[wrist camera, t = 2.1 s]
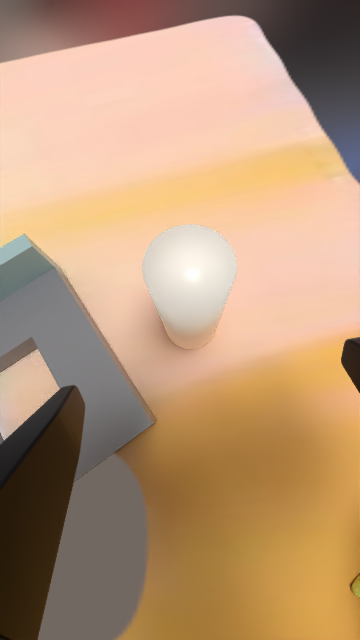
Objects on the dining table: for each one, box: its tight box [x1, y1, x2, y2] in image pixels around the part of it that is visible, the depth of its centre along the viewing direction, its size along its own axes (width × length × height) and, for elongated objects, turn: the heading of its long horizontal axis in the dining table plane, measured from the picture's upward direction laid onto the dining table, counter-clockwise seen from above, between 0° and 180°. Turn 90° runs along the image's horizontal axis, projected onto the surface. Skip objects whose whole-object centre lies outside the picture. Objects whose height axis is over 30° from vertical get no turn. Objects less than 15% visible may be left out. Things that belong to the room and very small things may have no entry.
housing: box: [0, 234, 157, 482], centre depth 17 cm, size 15×14×5 cm
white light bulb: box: [142, 224, 237, 349], centre depth 16 cm, size 4×4×10 cm
